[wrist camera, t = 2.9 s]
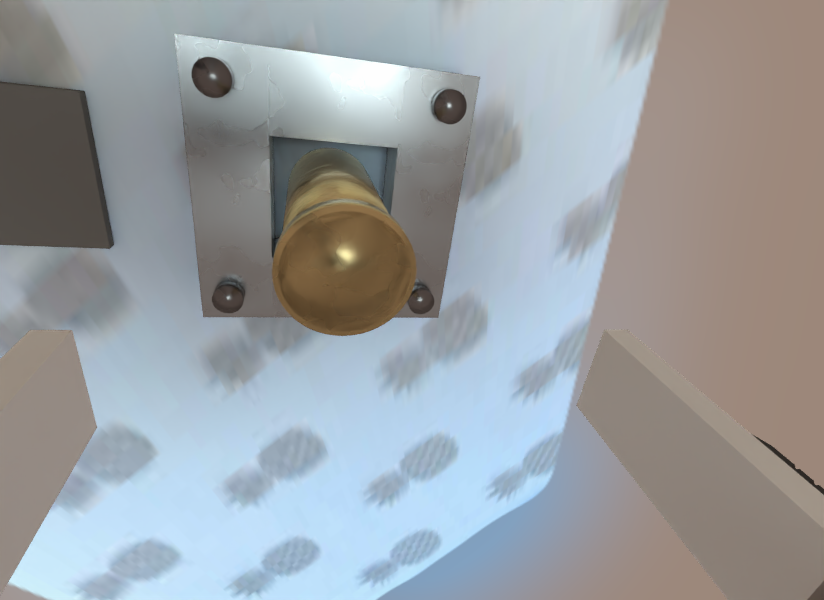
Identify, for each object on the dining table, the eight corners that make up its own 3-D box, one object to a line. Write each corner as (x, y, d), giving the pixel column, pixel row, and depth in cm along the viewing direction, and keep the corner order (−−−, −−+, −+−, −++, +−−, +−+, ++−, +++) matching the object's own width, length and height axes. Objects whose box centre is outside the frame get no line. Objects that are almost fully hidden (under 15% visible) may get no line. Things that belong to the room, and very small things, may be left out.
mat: (-59, 238, 23) (-67, 242, 23) (-122, 68, 20) (-134, 69, 19) (113, 244, 25) (109, 248, 25) (84, 90, 22) (78, 91, 21)
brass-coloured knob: (284, 229, 27) (273, 336, 17) (284, 139, 25) (270, 200, 14) (370, 233, 28) (407, 335, 18) (377, 148, 26) (425, 210, 16)
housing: (212, 292, 28) (200, 324, 25) (189, 36, 22) (169, 32, 18) (427, 296, 31) (441, 323, 28) (461, 74, 25) (485, 77, 22)
